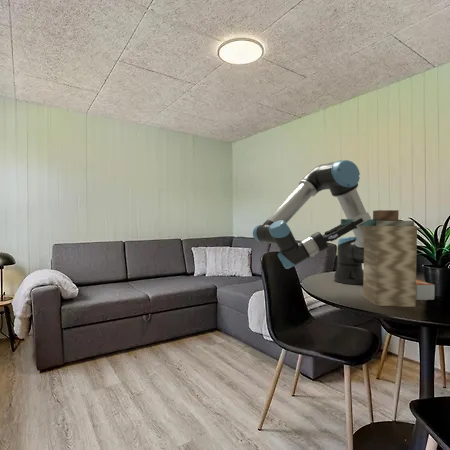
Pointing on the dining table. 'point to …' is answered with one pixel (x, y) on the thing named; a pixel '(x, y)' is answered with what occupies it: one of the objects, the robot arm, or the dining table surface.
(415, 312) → the dining table surface
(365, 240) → the wooden board
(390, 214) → the teal and brown block
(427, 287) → the small box
